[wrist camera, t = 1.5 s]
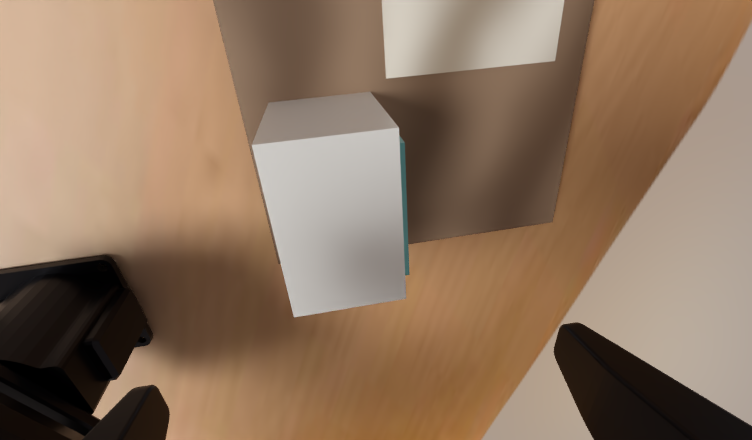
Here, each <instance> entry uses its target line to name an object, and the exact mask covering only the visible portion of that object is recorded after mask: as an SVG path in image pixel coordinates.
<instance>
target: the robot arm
mask: <svg viewBox="0 0 752 440" xmlns="http://www.w3.org/2000/svg"><path fill="white" fill-rule="evenodd" d="M101 264H105V265H106V266H107V267H104V266H102V265H101ZM142 337H144V338H142ZM152 338H153V333H152V331H151V330H150V328H149V326H148V324H147V319H146V317H145V315H144V313H143V311H142V309H141V307H140V305H139V303H138V301H137V299H136V297H135V295H134V293H133V291H132V290H131V289H130V288H129V287H128V285H127V283H126V281H125V279H124V277H123V275H122V273H121V271H120V270H119V268H118V266H117V264H116V262H115V261H114V259H112V258H111V257H109V256H96V257H89V258H82V259H75V260H68V261H61V262H54V263H47V264H40V265H33V266H27V267H20V268H13V269H6V270H0V440H165V439H166V434H167V429H168V423H169V415H170V414H169V408H168V406H167V404H166V402H165V400H164V398H163V397H162V395H161V393H160V391H159V389H158V388H157V387H156V386H154V385H148V386H141V387H136V388H134V389H132V390H131V391H129V392H128V393H127V394H126V395H125V396H124V397H123V398H122V399H121V400H120V401H119V402H118V403H117V404H116V405H115V406H114V407H113V408H112V409H111V410H110V411H109V413H108V414H107V415H106V416H105V417H104V418H103V419H102V420H100V419H98V418H97V417H95V416H93V415H92V414H93V413H94V411H95V409H96V407H97V405H98V403H99V401H100V399H101V397H102V396H103V394H104V392H105V390H106V388H107V386H108V384H109V382H110V381H111V380H116V379H117V378H118V377H119V376H120V374H121V373H122V371H123V369H124V367H125V365H126V363H127V361H128V359H129V357H130V355H131V353H132V351H133V349H134V347H140V346H146V345H148V344H149V343H150V342H151V340H152ZM554 355H555V358H556V361H557V363H558V365H559V368H560V370H561V372H562V374H563V376H564V379H565V381H566V383H567V385H568V387H569V389H570V392H571V394H572V396H573V398H574V401H575V403H576V405H577V407H578V410H579V412H580V414H581V416H582V418H583V420H584V422H585V424H586V426H587V428H588V430H589V431H590V433H591V435H592V437H593V438H594V440H752V426H751V425H749V424H748V423H746V422H744V421H742V420H741V419H739V418H737V417H736V416H734V415H733V414H731V413H729V412H727V411H726V410H724V409H723V408H721V407H719V406H717V405H716V404H714V403H713V402H711V401H709V400H708V399H706V398H704V397H703V396H701V395H699V394H698V393H696V392H694V391H693V390H691V389H689V388H688V387H686V386H684V385H683V384H681V383H679V382H678V381H676V380H674V379H673V378H671V377H669V376H668V375H666V374H664V373H663V372H661V371H660V370H658V369H656V368H655V367H653V366H651V365H650V364H648V363H646V362H645V361H643V360H641V359H640V358H638V357H636V356H634V355H633V354H631V353H630V352H628V351H626V350H625V349H623V348H621V347H620V346H618V345H616V344H615V343H613V342H611V341H609V340H608V339H606V338H605V337H603V336H601V335H600V334H598V333H596V332H595V331H593V330H591V329H590V328H588V327H586V326H585V325H583V324H581V323H570V324H563V325H562V326H561V327H560V328H559V332H558V335H557V339H556V343H555V347H554Z"/></svg>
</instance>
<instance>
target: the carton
mask: <svg viewBox="0 0 752 440" xmlns="http://www.w3.org/2000/svg"><path fill="white" fill-rule="evenodd" d="M252 149H253V153H254V157H255V161H256V165H257V169H258V173H259V177H260V181H261V185H262V189H263V194H264V198H265V202H266V206H267V210H268V214H269V218H270V222H271V226H272V230H273V234H274V238H275V242H276V246H277V251H278V255H279V259H280V263H281V267H282V271H283V275H284V279H285V283H286V287H287V291H288V295H289V299H290V303H291V307H292V312H293V316H294V317H300V316H306V315H312V314H318V313H324V312H330V311H336V310H342V309H347V308H353V307H359V306H365V305H371V304H377V303H383V302H389V301H395V300H401V299H406V284H405V275H409V251H408V222H407V194H406V165H405V142H404V141H403V139H402V138H401V137H400V135H399V127H398V126H397V125H396V123H395V122H394V121H393V120H392V118H391V117H390V116H389V115H388V113H387V112H386V111H385V110H384V108H383V107H382V106H381V105H380V103H379V102H378V101H377V100H376V98H375V97H374V96H373V95H372V93H371V92H363V93H354V94H344V95H335V96H326V97H317V98H307V99H298V100H289V101H279V102H270V103H268V105H267V108H266V110H265V113H264V115H263V118H262V120H261V123H260V125H259V128H258V130H257V133H256V135H255V138H254V140H253V143H252Z"/></svg>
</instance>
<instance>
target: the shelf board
mask: <svg viewBox="0 0 752 440" xmlns="http://www.w3.org/2000/svg"><path fill="white" fill-rule="evenodd" d="M213 2H214V6H215V10H216V14H217V18H218V22H219V26H220V30H221V34H222V38H223V42H224V46H225V50H226V54H227V58H228V62H229V66H230V70H231V74H232V78H233V82H234V86H235V90H236V94H237V98H238V102H239V106H240V110H241V114H242V118H243V122H244V126H245V130H246V135H247V139H248V143H249V147H250V151H251V155H252V159H253V163H254V167H255V171H256V175H257V179H258V183H259V187H260V191H261V195H262V199H263V203H264V207H265V211H266V215H267V219H268V223H269V227H270V231H271V235H272V239H273V243H274V247H275V251H276V255H277V259H278V263H279V264H281V263H280V259H279V255H278V251H277V246H276V242H275V238H274V234H273V230H272V226H271V222H270V218H269V214H268V210H267V206H266V202H265V198H264V194H263V189H262V185H261V181H260V177H259V173H258V169H257V165H256V161H255V157H254V153H253V149H252V143H253V140H254V138H255V135H256V133H257V130H258V128H259V125H260V123H261V120H262V118H263V115H264V113H265V110H266V108H267V105H268V103H270V102H279V101H289V100H298V99H307V98H317V97H326V96H335V95H344V94H354V93H363V92H371V93H372V95H373V96H374V97H375V98H376V100H377V101H378V102H379V103H380V105H381V106H382V107H383V108H384V110H385V111H386V112H387V113H388V115H389V116H390V117H391V118H392V120H393V121H394V122H395V123H396V125H397V126H398V127H399V135H400V137H401V138H402V139H403V141H404V142H405V165H406V194H407V222H408V244H413V243H419V242H426V241H432V240H439V239H445V238H452V237H459V236H465V235H472V234H478V233H485V232H491V231H498V230H504V229H511V228H517V227H524V226H530V225H537V224H543V223H550V222H553V217H554V211H555V206H556V201H557V195H558V190H559V185H560V180H561V174H562V169H563V164H564V158H565V153H566V148H567V142H568V137H569V132H570V127H571V121H572V116H573V111H574V105H575V100H576V95H577V90H578V84H579V79H580V74H581V68H582V63H583V58H584V53H585V47H586V42H587V37H588V31H589V26H590V21H591V15H592V10H593V5H594V0H213Z"/></svg>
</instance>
